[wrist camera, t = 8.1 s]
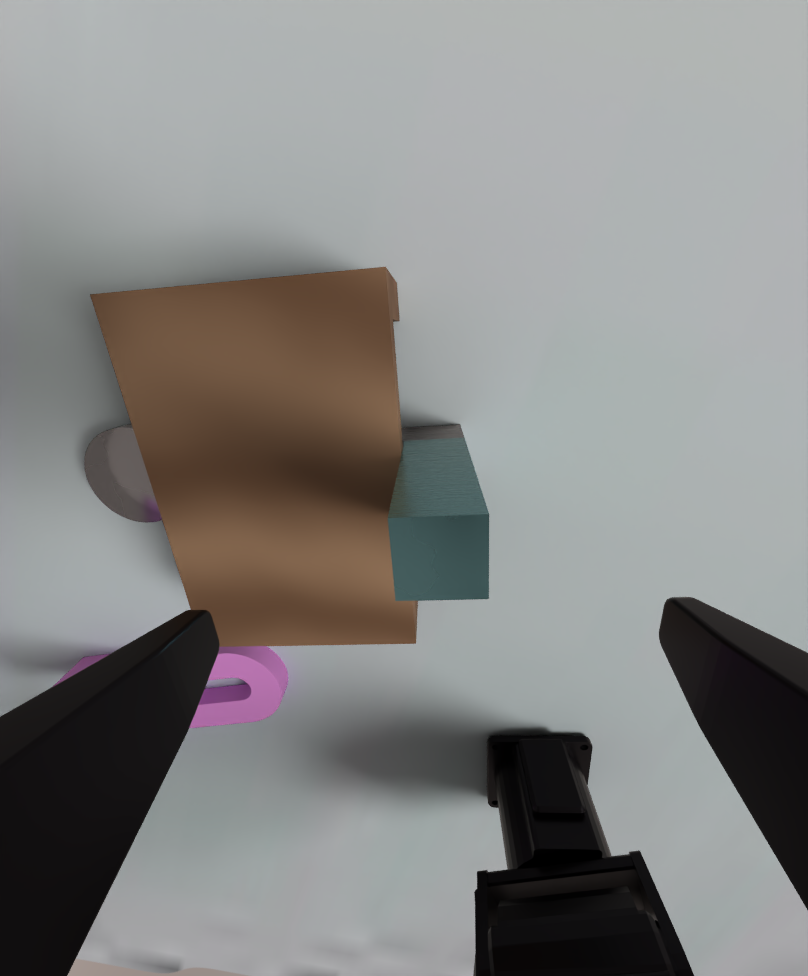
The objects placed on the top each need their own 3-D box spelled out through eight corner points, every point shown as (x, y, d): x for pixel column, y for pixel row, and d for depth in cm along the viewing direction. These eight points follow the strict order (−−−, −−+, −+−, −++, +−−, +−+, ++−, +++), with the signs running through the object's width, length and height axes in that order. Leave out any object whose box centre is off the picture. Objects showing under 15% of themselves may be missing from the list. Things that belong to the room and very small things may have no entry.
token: (208, 508, 22) (197, 517, 21) (124, 516, 22) (108, 526, 21) (178, 417, 20) (163, 422, 19) (87, 428, 21) (67, 434, 20)
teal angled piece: (461, 474, 20) (488, 598, 11) (196, 486, 21) (15, 609, 12) (460, 424, 19) (489, 514, 10) (183, 440, 20) (-24, 534, 11)
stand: (418, 582, 23) (416, 643, 18) (245, 587, 23) (203, 647, 19) (396, 283, 17) (385, 266, 13) (172, 303, 18) (89, 294, 14)
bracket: (123, 717, 28) (31, 832, 22) (85, 655, 26) (-27, 761, 20) (299, 698, 27) (257, 818, 20) (273, 631, 25) (217, 739, 18)
